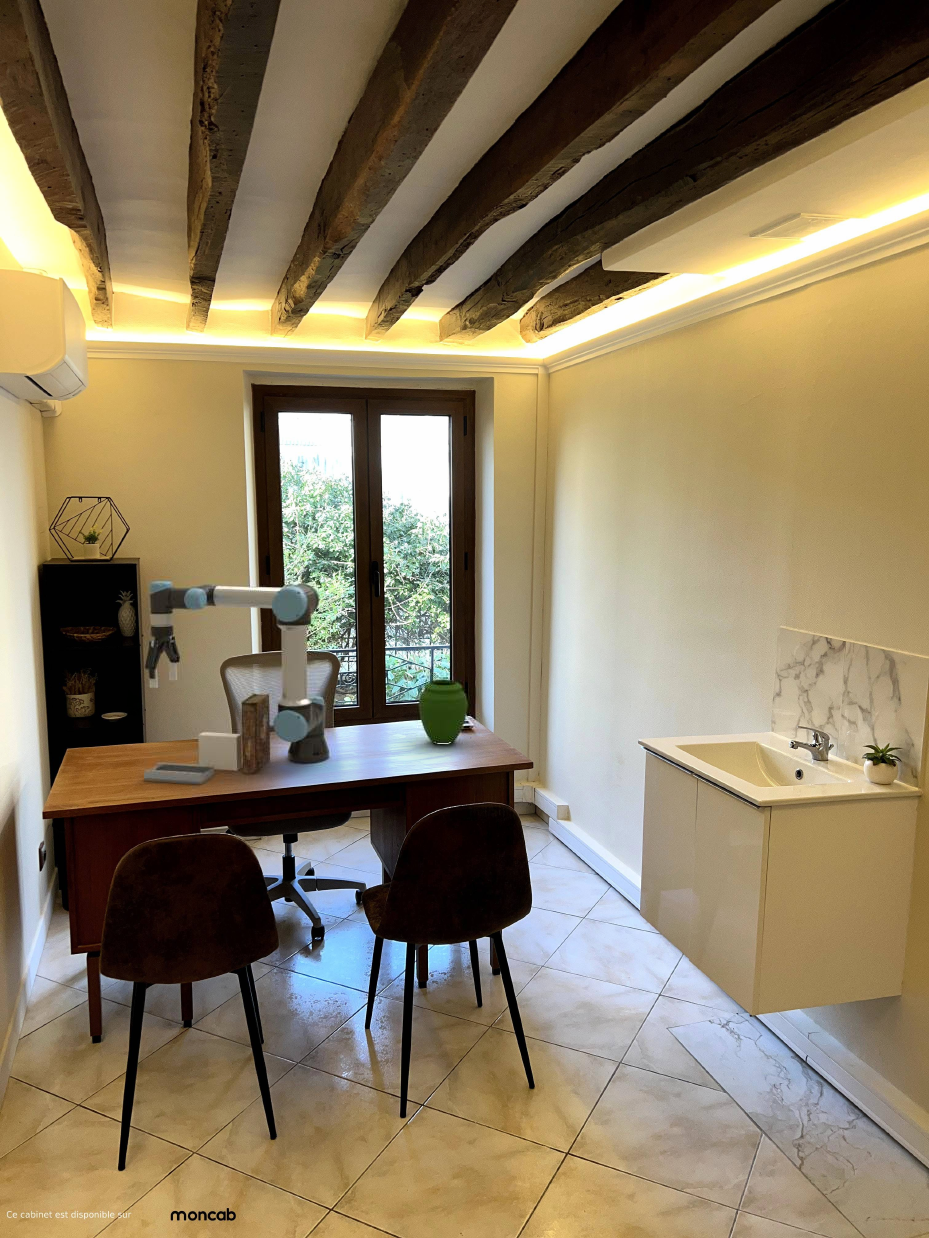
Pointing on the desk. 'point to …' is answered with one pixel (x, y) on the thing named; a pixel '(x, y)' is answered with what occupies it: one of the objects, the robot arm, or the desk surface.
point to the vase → (443, 710)
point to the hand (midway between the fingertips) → (163, 683)
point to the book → (255, 733)
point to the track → (179, 773)
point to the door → (220, 750)
